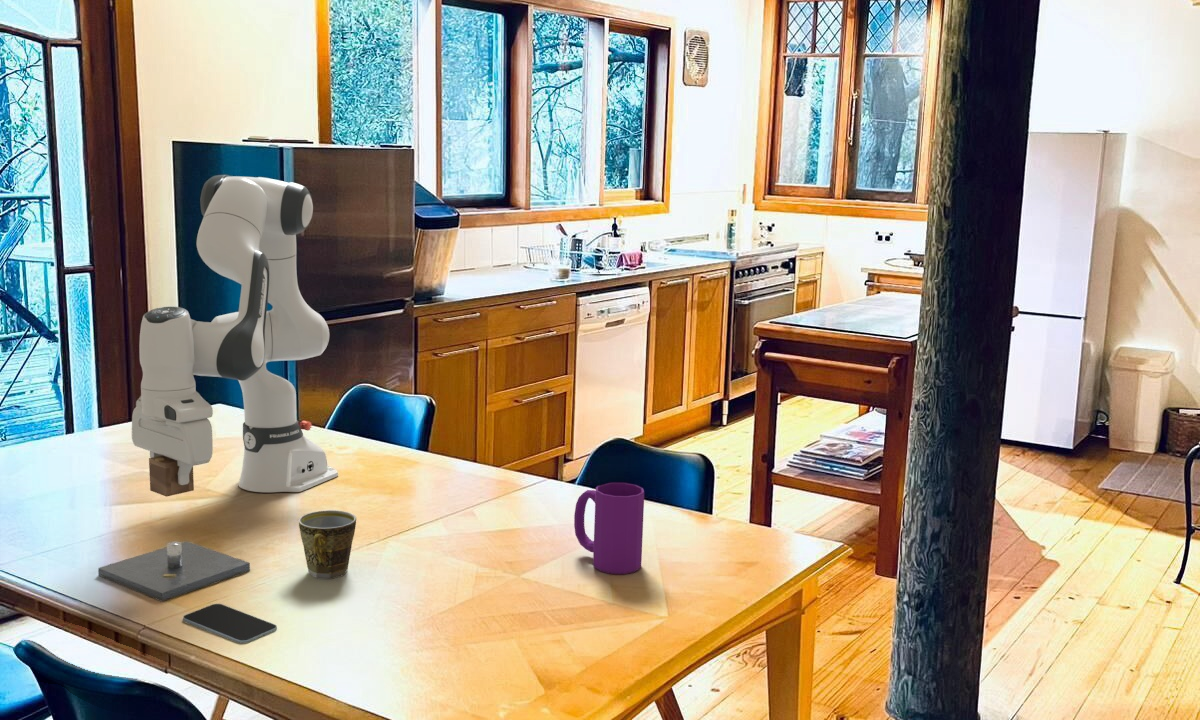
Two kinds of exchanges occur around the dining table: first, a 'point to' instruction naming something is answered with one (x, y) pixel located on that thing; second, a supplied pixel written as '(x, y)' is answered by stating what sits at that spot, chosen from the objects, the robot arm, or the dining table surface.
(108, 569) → the plate
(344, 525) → the ceramic cup
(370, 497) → the dining table surface
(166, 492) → the taped cardboard carton
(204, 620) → the smartphone
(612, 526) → the mug
